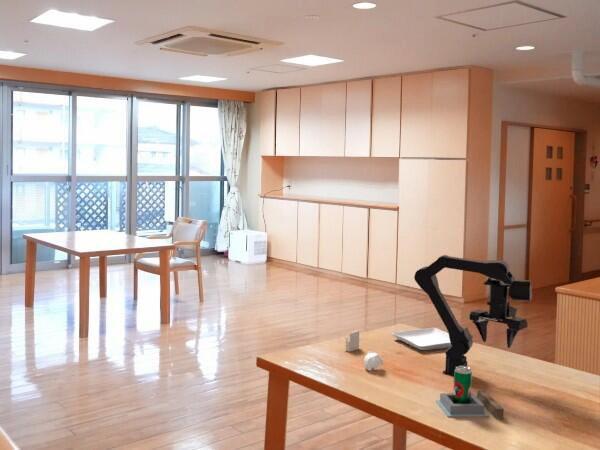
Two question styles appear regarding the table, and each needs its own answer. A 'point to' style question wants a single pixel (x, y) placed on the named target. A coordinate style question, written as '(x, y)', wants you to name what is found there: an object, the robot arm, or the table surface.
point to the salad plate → (425, 338)
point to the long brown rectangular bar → (490, 404)
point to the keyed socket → (461, 407)
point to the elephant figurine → (372, 361)
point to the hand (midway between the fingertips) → (496, 344)
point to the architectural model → (352, 341)
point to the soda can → (462, 385)
